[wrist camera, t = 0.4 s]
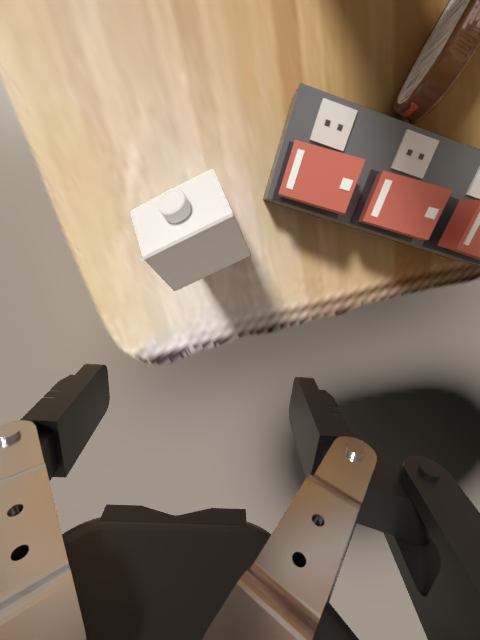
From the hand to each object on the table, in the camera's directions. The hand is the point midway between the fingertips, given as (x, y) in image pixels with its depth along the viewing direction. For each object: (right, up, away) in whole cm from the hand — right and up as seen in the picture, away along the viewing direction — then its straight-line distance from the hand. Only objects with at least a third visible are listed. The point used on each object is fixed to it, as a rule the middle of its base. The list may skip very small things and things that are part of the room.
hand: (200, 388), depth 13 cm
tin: (+22, +32, +20) cm, 44 cm away
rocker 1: (+10, +18, +18) cm, 27 cm away
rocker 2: (+19, +15, +19) cm, 31 cm away
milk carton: (-3, +15, +25) cm, 29 cm away
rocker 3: (+28, +13, +20) cm, 37 cm away
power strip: (+19, +19, +24) cm, 36 cm away
